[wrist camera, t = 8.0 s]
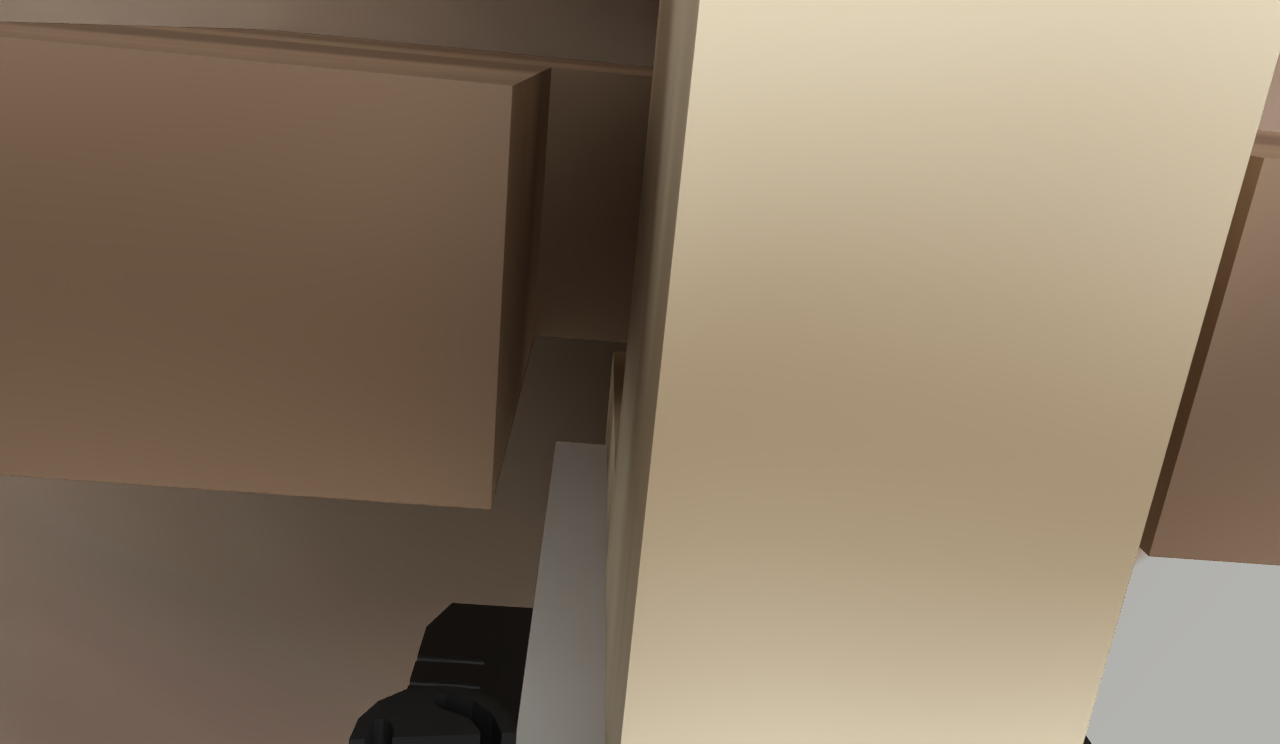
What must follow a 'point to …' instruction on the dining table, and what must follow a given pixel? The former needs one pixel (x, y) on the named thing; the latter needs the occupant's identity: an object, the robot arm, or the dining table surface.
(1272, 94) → the dining table surface
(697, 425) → the cross plate
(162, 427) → the slotted base
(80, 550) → the dining table surface
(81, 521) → the dining table surface
